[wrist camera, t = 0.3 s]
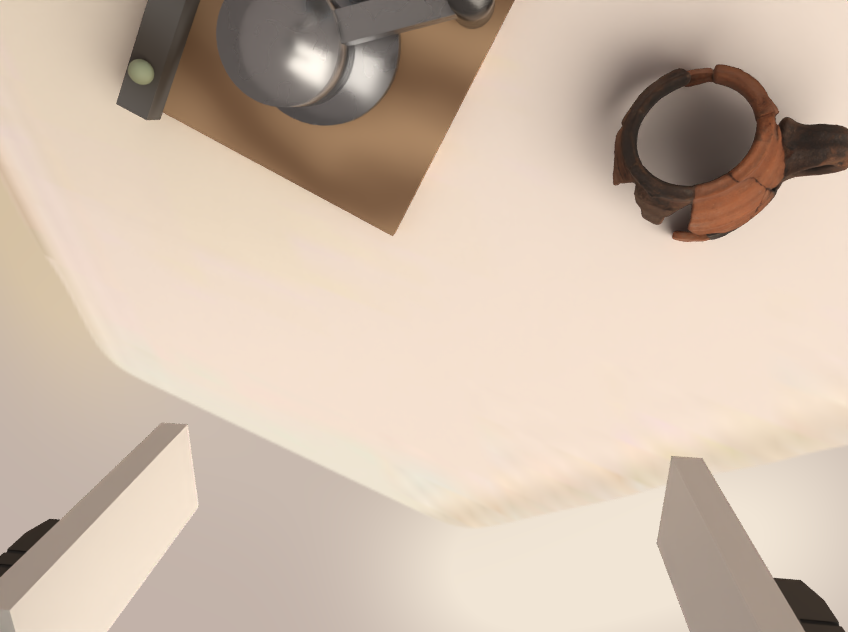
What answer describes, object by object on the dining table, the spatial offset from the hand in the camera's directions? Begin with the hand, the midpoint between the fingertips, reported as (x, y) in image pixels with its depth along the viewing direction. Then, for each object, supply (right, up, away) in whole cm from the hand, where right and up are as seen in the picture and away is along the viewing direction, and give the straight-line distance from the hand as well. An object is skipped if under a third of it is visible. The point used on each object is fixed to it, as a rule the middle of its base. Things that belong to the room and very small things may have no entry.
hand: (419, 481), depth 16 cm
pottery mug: (+17, +14, +20) cm, 30 cm away
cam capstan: (-3, +21, +18) cm, 28 cm away
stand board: (-6, +22, +20) cm, 30 cm away
